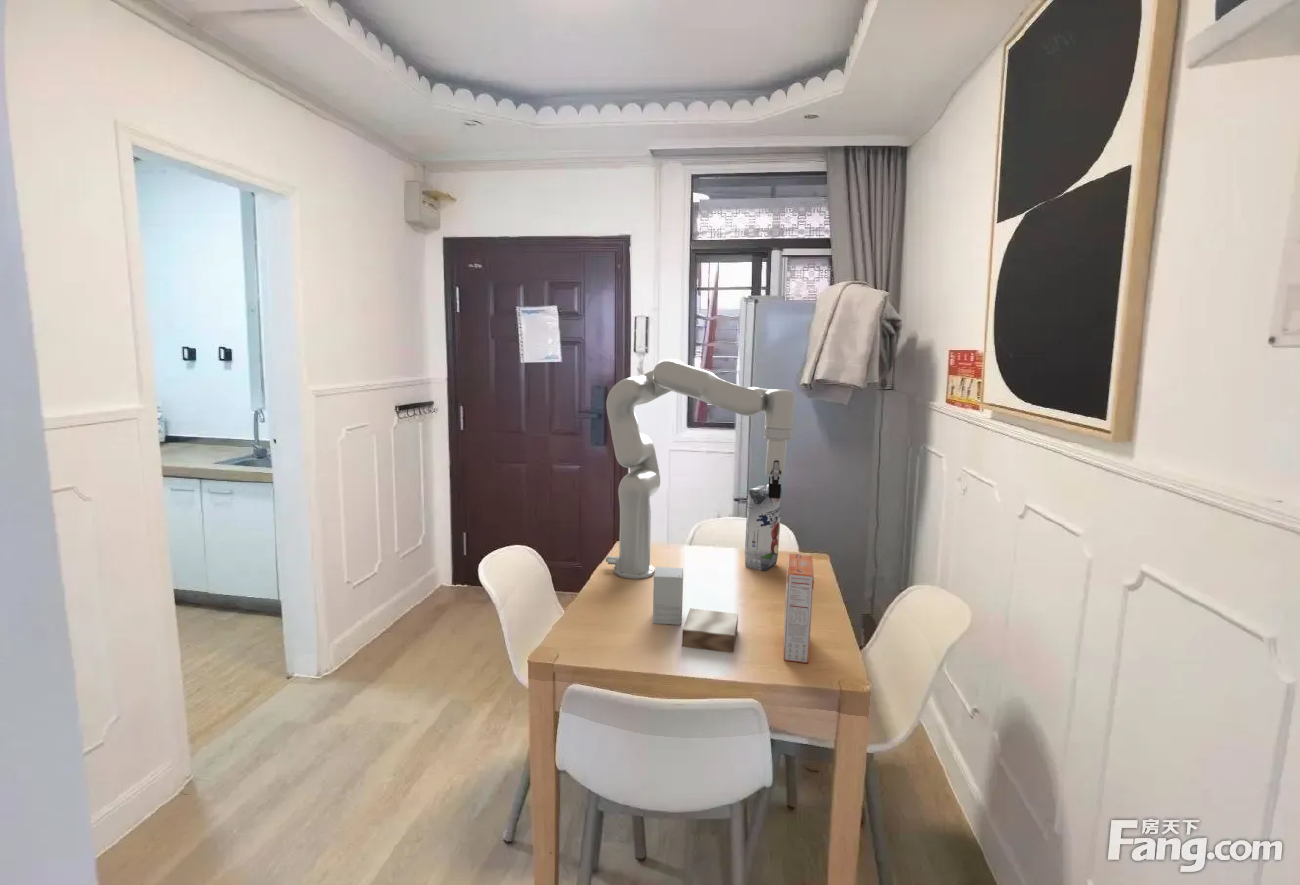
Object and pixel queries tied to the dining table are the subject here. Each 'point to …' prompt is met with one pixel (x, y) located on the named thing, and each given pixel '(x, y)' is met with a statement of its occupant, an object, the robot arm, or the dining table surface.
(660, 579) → the supplement box
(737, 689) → the dining table surface
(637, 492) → the robot arm
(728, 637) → the base block
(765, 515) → the juice carton
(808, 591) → the cracker box
